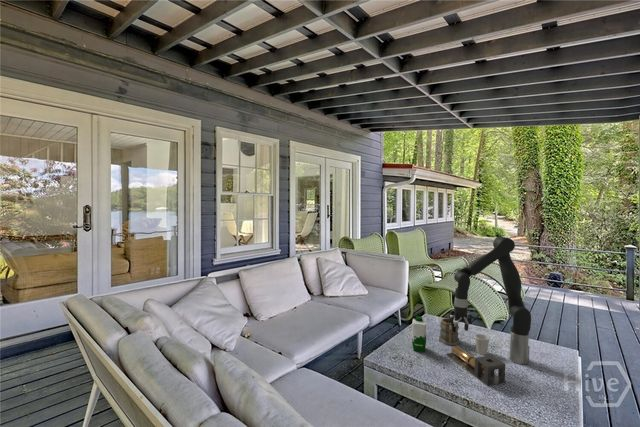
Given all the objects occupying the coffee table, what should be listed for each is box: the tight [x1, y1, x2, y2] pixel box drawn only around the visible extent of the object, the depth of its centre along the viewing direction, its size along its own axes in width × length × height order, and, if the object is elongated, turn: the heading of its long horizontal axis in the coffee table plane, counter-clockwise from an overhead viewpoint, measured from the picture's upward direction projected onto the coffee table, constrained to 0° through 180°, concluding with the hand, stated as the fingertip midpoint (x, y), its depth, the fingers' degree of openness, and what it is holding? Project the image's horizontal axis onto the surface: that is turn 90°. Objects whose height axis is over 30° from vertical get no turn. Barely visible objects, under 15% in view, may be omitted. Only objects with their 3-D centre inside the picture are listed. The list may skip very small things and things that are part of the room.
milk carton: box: [411, 315, 427, 353], centre depth 207 cm, size 9×9×20 cm
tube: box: [451, 345, 485, 372], centre depth 189 cm, size 22×5×5 cm, turn 15°
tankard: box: [438, 317, 460, 346], centre depth 215 cm, size 20×13×15 cm, turn 159°
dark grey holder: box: [445, 352, 507, 387], centre depth 184 cm, size 34×12×10 cm, turn 15°
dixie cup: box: [474, 333, 490, 356], centre depth 203 cm, size 8×8×10 cm
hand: (459, 331), depth 195 cm, fingers open, 8 cm apart
